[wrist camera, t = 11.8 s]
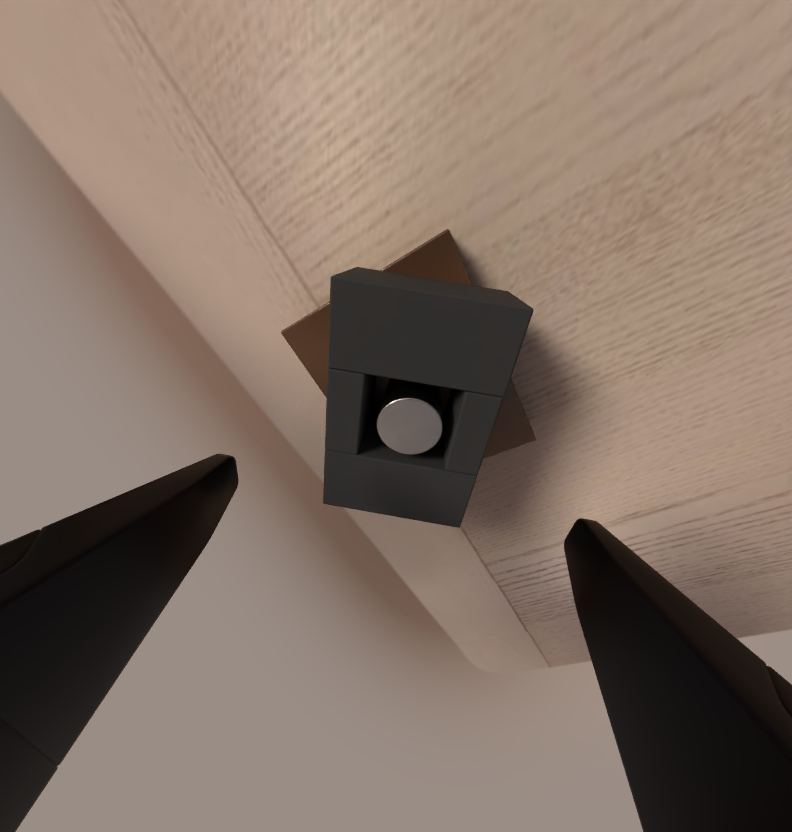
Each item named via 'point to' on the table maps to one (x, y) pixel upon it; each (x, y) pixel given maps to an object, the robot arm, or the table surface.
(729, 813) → the robot arm
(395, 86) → the table surface
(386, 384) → the base pad
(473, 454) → the black sloped block
